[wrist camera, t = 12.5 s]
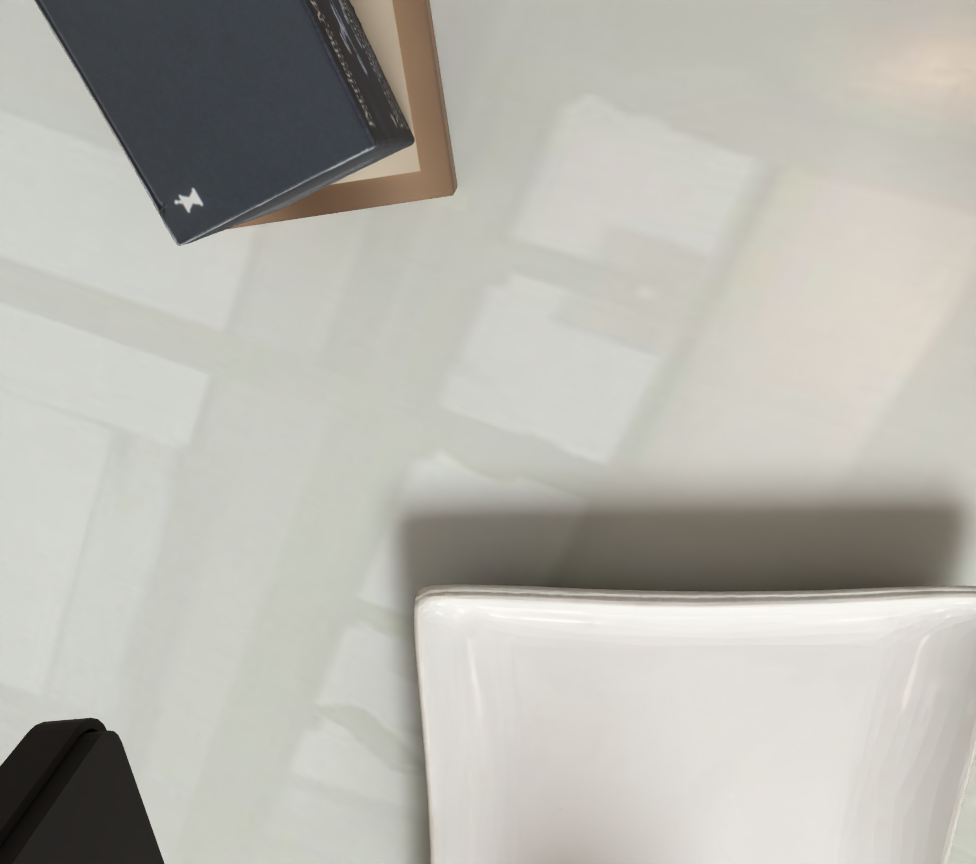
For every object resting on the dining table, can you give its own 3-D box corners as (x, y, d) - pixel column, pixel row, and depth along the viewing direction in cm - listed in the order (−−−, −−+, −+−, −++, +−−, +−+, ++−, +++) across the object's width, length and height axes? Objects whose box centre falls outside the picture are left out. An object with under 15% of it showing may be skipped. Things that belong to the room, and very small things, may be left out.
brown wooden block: (414, -97, 30) (402, -131, 26) (457, 186, 33) (452, 195, 29) (148, -52, 30) (97, -78, 26) (219, 222, 34) (182, 236, 30)
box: (420, 141, 28) (381, 152, 19) (280, 211, 29) (171, 256, 19) (311, -96, 26) (198, -229, 16) (161, -12, 27) (-33, -90, 17)
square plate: (976, 548, 39) (1025, 592, 36) (884, 948, 49) (916, 1014, 45) (417, 552, 40) (409, 596, 36) (437, 948, 49) (432, 1014, 46)
